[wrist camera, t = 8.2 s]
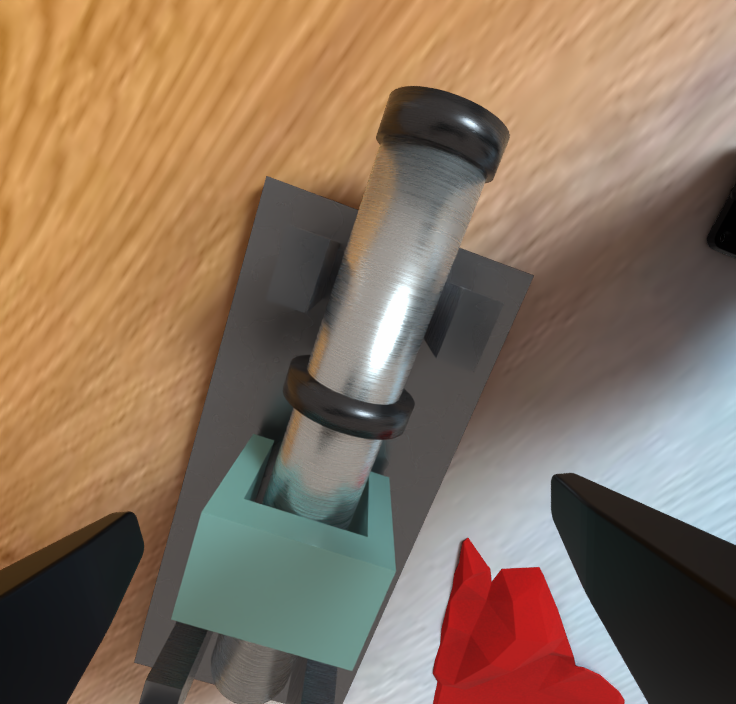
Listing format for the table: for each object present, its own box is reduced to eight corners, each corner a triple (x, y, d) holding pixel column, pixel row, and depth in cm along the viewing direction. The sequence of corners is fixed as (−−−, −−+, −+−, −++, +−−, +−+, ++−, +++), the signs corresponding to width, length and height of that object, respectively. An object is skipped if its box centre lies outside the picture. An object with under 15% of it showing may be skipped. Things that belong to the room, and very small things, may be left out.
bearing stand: (272, 180, 17) (192, 121, 10) (525, 274, 18) (639, 290, 11) (143, 645, 24) (32, 838, 16) (337, 699, 24) (322, 907, 17)
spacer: (253, 433, 18) (201, 511, 13) (389, 477, 19) (396, 571, 13) (228, 514, 19) (171, 619, 14) (357, 554, 20) (352, 670, 14)
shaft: (376, 117, 15) (378, 55, 10) (495, 164, 15) (549, 124, 11) (220, 600, 20) (174, 705, 16) (310, 627, 21) (293, 736, 16)
